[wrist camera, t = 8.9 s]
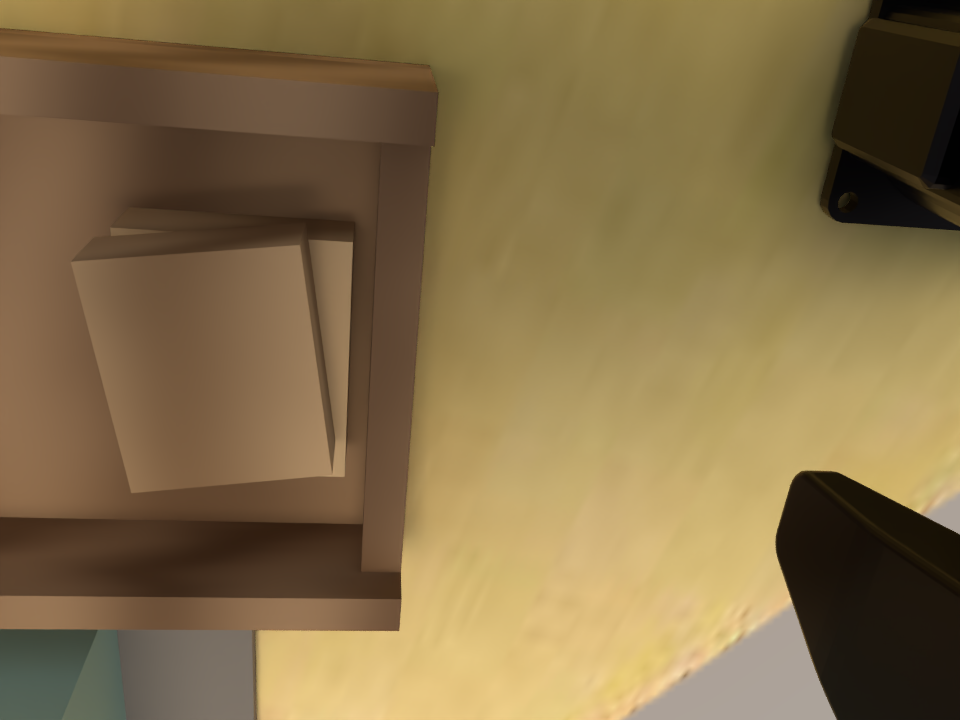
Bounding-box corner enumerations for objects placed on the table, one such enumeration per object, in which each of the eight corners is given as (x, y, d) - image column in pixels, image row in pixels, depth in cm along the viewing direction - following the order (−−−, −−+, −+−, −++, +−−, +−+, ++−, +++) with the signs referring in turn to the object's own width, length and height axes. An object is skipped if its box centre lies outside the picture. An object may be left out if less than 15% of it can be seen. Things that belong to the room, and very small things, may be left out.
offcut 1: (305, 222, 19) (300, 245, 17) (335, 440, 21) (332, 475, 20) (93, 237, 18) (70, 261, 17) (147, 456, 21) (131, 493, 20)
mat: (253, 552, 25) (250, 566, 24) (257, 775, 29) (255, 791, 28) (-131, 547, 24) (-143, 561, 23) (-73, 781, 27) (-82, 798, 27)
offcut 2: (354, 221, 20) (353, 242, 19) (346, 444, 23) (344, 477, 22) (128, 207, 20) (110, 227, 18) (146, 438, 22) (131, 471, 21)
